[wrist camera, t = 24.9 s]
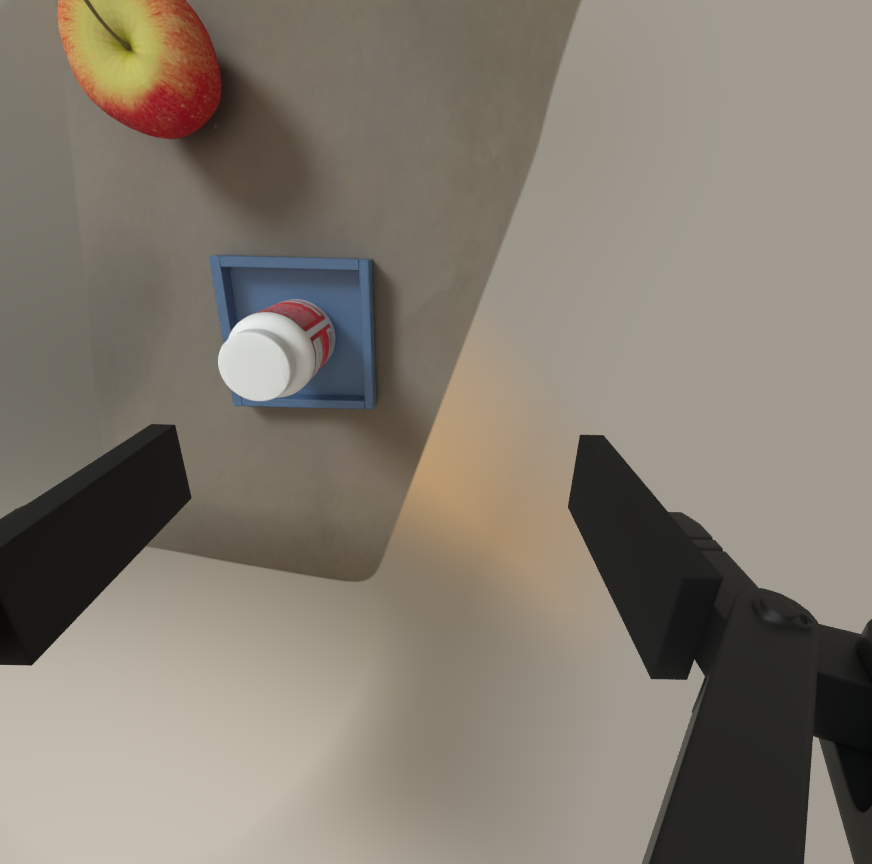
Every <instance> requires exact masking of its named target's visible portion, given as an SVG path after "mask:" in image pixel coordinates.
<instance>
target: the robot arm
mask: <svg viewBox="0 0 872 864" xmlns="http://www.w3.org/2000/svg"><path fill="white" fill-rule="evenodd" d="M190 499H191V494H190V489H189V485H188V480H187V476H186V471H185V467H184V462H183V458H182V454H181V449H180V445H179V440H178V436H177V431H176V427H175V425H161V424H151V425H149V426H148V427H146V428H145V429H143V430H142V431H140V432H138V433H137V434H135V435H134V436H132V437H131V438H129V439H128V440H126V441H125V442H123V443H121V444H120V445H118V446H117V447H115V448H114V449H112V450H111V451H109V452H107V453H106V454H104V455H103V456H101V457H100V458H98V459H97V460H95V461H93V462H92V463H90V464H89V465H87V466H86V467H84V468H83V469H81V470H80V471H78V472H76V473H75V474H74V475H72V476H70V477H69V478H67V479H66V480H64V481H63V482H61V483H59V484H58V485H56V486H55V487H53V488H52V489H50V490H48V491H47V492H45V493H44V494H42V495H41V496H39V497H38V498H36V499H35V500H33V501H31V502H30V503H28V504H27V505H25V506H22V507H20V508H18V509H15V510H14V511H12V512H11V513H9V514H7V515H6V516H4V517H3V518H1V519H0V665H33V663H34V662H35V661H36V660H37V659H38V658H39V657H40V656H41V655H42V654H43V653H44V652H45V651H46V650H47V649H48V648H49V647H50V646H51V644H53V643H54V642H55V641H56V639H57V638H58V637H59V636H60V635H61V634H62V633H63V632H64V631H65V630H66V629H67V628H68V627H69V626H70V624H72V623H73V622H74V621H75V620H76V618H77V617H78V616H79V615H80V614H81V613H82V612H83V611H84V610H85V609H86V608H87V607H88V606H89V605H90V604H91V603H92V602H93V601H94V600H95V598H97V597H98V595H99V594H100V593H101V592H102V591H103V590H104V589H105V588H106V587H107V586H108V585H109V584H110V583H111V582H112V581H113V580H114V579H115V578H116V577H117V576H118V574H119V573H120V572H121V571H122V570H123V569H124V568H125V567H126V566H127V565H128V564H129V563H130V562H131V561H132V560H133V559H134V558H135V557H136V556H137V555H138V554H139V553H140V551H141V550H142V549H143V548H144V547H145V546H146V545H147V544H148V543H149V542H150V541H151V540H152V539H153V538H154V537H155V536H156V535H157V534H158V533H159V532H160V531H161V529H162V528H163V527H164V526H165V525H166V524H167V523H168V522H169V521H170V520H171V519H172V518H173V517H174V516H175V515H176V514H177V513H178V512H179V511H180V510H181V509H182V507H183V506H184V505H185V504H186V503H187V502H188V501H189V500H190ZM568 508H569V510H570V512H571V514H572V516H573V518H574V521H575V523H576V525H577V527H578V529H579V531H580V533H581V535H582V537H583V539H584V541H585V543H586V545H587V547H588V549H589V552H590V554H591V556H592V558H593V560H594V562H595V564H596V566H597V568H598V570H599V572H600V574H601V576H602V578H603V581H604V583H605V585H606V587H607V588H608V591H609V593H610V595H611V597H612V599H613V601H614V603H615V605H616V607H617V609H618V612H619V614H620V616H621V617H622V620H623V622H624V624H625V626H626V628H627V630H628V632H629V634H630V636H631V638H632V640H633V643H634V644H635V647H636V649H637V651H638V653H639V655H640V657H641V659H642V661H643V663H644V665H645V667H646V669H647V672H648V674H649V676H650V678H651V679H676V680H680V679H681V680H687V678H688V675H689V673H690V670H691V667H692V664H693V661H694V659H695V661H696V662H697V664H698V665H699V667H700V669H701V670H702V672H703V674H704V675H705V678H704V681H703V684H702V686H701V689H700V692H699V694H698V697H697V699H696V702H695V705H694V707H693V710H692V716H691V719H690V722H689V725H688V728H687V731H686V734H685V737H684V740H683V743H682V746H681V749H680V752H679V755H678V758H677V761H676V764H675V767H674V769H673V772H672V775H671V778H670V781H669V784H668V787H667V790H666V793H665V796H664V799H663V802H662V805H661V808H660V811H659V814H658V817H657V820H656V823H655V826H654V829H653V832H652V835H651V838H650V841H649V844H648V847H647V850H646V853H645V856H644V859H643V862H642V864H804V853H805V839H806V838H805V837H806V825H807V811H808V797H809V782H810V768H811V756H812V742H813V736H814V737H818V738H819V740H820V744H821V748H822V751H823V755H824V758H825V762H826V765H827V769H828V772H829V776H830V780H831V783H832V787H833V790H834V794H835V797H836V801H837V804H838V808H839V812H840V815H841V819H842V822H843V826H844V829H845V833H846V836H847V840H848V843H849V847H850V851H851V854H852V858H853V861H854V864H872V619H871V620H870V621H869V622H868V623H867V625H866V627H865V628H864V630H863V632H862V634H858V633H853V632H850V631H846V630H841V629H837V628H833V627H829V626H825V625H821V624H818V622H817V620H816V619H815V618H814V617H813V616H812V614H811V613H810V612H809V611H808V610H807V609H805V608H804V607H802V606H801V605H800V604H798V603H797V602H795V601H794V600H792V599H790V598H788V597H785V596H784V595H782V594H779V593H776V592H773V591H770V590H767V589H762V588H758V587H757V586H756V584H755V583H753V581H752V580H751V579H750V578H749V577H748V576H747V575H746V574H745V572H744V571H743V570H742V569H741V568H740V567H739V566H738V565H737V564H736V563H735V562H734V561H733V560H732V558H731V557H730V556H729V555H728V554H727V553H726V552H723V549H722V547H721V546H720V545H719V544H718V543H717V542H716V541H715V540H713V539H712V537H711V535H710V534H709V533H708V532H707V531H706V530H705V529H704V528H703V527H702V526H701V525H700V524H699V523H697V522H696V521H694V520H693V519H691V518H690V517H688V516H686V515H685V514H683V513H681V512H667V510H666V509H665V508H664V507H663V506H662V504H661V503H660V502H659V501H658V500H657V499H656V497H655V496H654V495H653V494H652V492H651V491H650V490H649V489H648V488H647V487H646V485H645V484H644V483H643V482H642V481H641V479H640V478H639V477H638V476H637V475H636V473H635V472H634V471H633V470H632V469H631V467H630V466H629V465H628V464H627V463H626V462H625V460H624V459H623V458H622V457H621V456H620V454H619V453H618V452H617V451H616V450H615V448H614V447H613V446H612V445H611V444H610V443H609V441H608V440H607V439H606V438H605V437H604V436H603V435H580V438H579V444H578V450H577V456H576V462H575V468H574V474H573V480H572V486H571V492H570V498H569V504H568Z"/></svg>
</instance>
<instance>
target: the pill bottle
mask: <svg viewBox="0 0 872 864" xmlns="http://www.w3.org/2000/svg"><path fill="white" fill-rule="evenodd" d="M334 347H335V330H334V327H333V324H332V322H331V320H330V319H329V317H328V316H327V314H326V313H325V312H324V311H323V310H322V309H321V308H319V307H318V306H317V305H315V304H313V303H311V302H309V301H306V300H301V299H290V300H286V301H283V302H280V303H278V304H275V305H273V306H271V307H268V308H266V309H263V310H261V311H259V312H256V313H254V314H251V315H249V316H247V317H246V318H244V319H242V320H241V321H240V322H238V323H237V324H236V326H235V327H234V328H233V329H232V331H231V333H230V335H229V338H228V340H227V341H226V342H225V343H224V344H223V346H222V347H221V350H220V352H219V357H218V365H219V370H220V374H221V376H222V378H223V380H224V381H225V383H226V384H227V385H228V387H229V388H230V389H231V390H232V391H234V392H235V393H236V394H238V395H239V396H241V397H243V398H246V399H249V400H252V401H268V400H272V399H274V398H281V397H286V396H290V395H292V394H294V393H296V392H298V391H299V390H301V389H302V388H303V387H304V386H305V385H306V384H307V383H308V382H309V381H310V380H311V379H312V377H313V376H314V375H315V374H316V373H317V372H318V371H319V370H320V368H321V367H322V366H323V365H324V364H325V363H326V362H327V361H328V359H329V358H330V356H331V355H332V353H333V350H334Z"/></svg>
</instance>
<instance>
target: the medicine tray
mask: <svg viewBox="0 0 872 864" xmlns="http://www.w3.org/2000/svg"><path fill="white" fill-rule="evenodd" d="M209 259H210V265H211V271H212V277H213V283H214V289H215V295H216V301H217V307H218V313H219V319H220V325H221V331H222V337H223V343H225V342H226V341H227V340H228V338H229V335H230V333H231V331H232V329H233V328H234V327H235V326H236V324H237V323H238V322H240V321H241V320H242V319H244V318H246V317H247V316H249V315H251V314H254V313H256V312H259V311H261V310H263V309H266V308H268V307H271V306H273V305H275V304H278V303H280V302H283V301H286V300H290V299H301V300H306V301H309V302H311V303H313V304H315V305H317V306H318V307H319V308H321V309H322V310H323V311H324V312H325V313H326V314H327V316H328V317H329V319H330V320H331V322H332V324H333V327H334V330H335V347H334V350H333V353H332V355H331V356H330V358H329V359H328V361H327V362H326V363H325V364H324V365H323V366H322V367H321V368H320V370H319V371H318V372H317V373H316V374H315V375H314V376H313V377H312V379H311V380H310V381H309V382H308V383H307V384H306V385H305V386H304V387H303V388H302V389H301V390H299V391H298V392H296V393H294V394H292V395H290V396H286V397H281V398H274V399H272V400H268V401H252V400H249V399H246V398H243V397H241V396H239V395H238V394H236V393H235V392H234V391H232V390H231V392H232V398H233V404H234V406H259V407H299V408H339V409H374V406H375V404H376V370H375V336H374V303H373V270H372V259H350V258H313V257H275V256H237V255H215V256H209Z"/></svg>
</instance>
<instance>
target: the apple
mask: <svg viewBox="0 0 872 864" xmlns="http://www.w3.org/2000/svg"><path fill="white" fill-rule="evenodd" d="M57 14H58V25H59V31H60V35H61V39H62V43H63V46H64V50H65V53H66V56H67V58H68V61H69V63H70V66H71V68H72V70H73V73H74V75H75V77H76V79H77V80H78V82H79V84H80V85H81V87H82V88H83V90H84V91H85V93H86V94H87V95H88V97H89V98H90V99H91V100H92V101H93V102H94V103H95V104H96V105H97V106H98V107H100V108H101V109H102V110H103V111H104V112H106V113H107V114H108V115H110V116H111V117H113V118H114V119H116V120H117V121H119V122H121V123H122V124H124V125H126V126H128V127H130V128H132V129H134V130H137V131H139V132H141V133H144V134H147V135H150V136H154V137H159V138H166V139H176V138H182V137H185V136H187V135H190V134H192V133H194V132H195V131H197V130H198V129H200V128H201V127H202V126H203V125H204V124H205V123H206V122H207V121H208V120H209V119H210V118H211V117H212V115H213V114H214V112H215V111H216V109H217V107H218V105H219V102H220V98H221V76H220V70H219V65H218V61H217V57H216V54H215V51H214V48H213V45H212V42H211V39H210V37H209V35H208V33H207V31H206V29H205V27H204V25H203V23H202V22H201V20H200V18H199V17H198V15H197V14H196V13H195V11H194V10H193V9H192V8H191V6H190V5H189V4H188V3H187V2H186V1H185V0H59V3H58V10H57Z"/></svg>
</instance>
